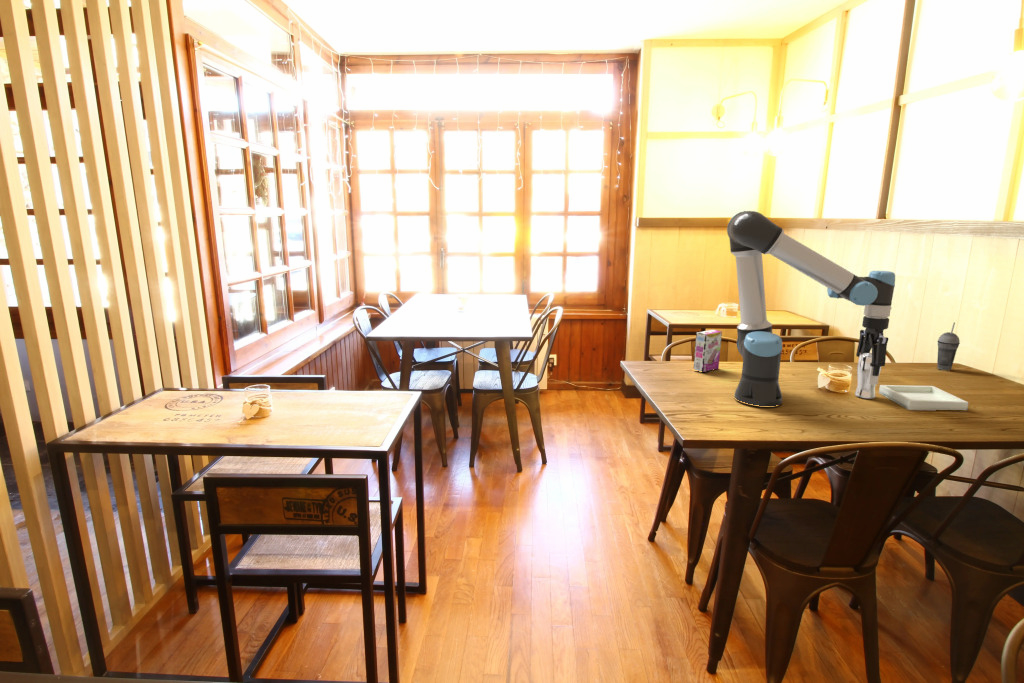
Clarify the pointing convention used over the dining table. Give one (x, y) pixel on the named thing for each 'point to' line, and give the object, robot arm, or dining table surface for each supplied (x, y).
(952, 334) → the beverage cup
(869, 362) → the beer glass
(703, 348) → the candy bar box
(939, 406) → the tray
